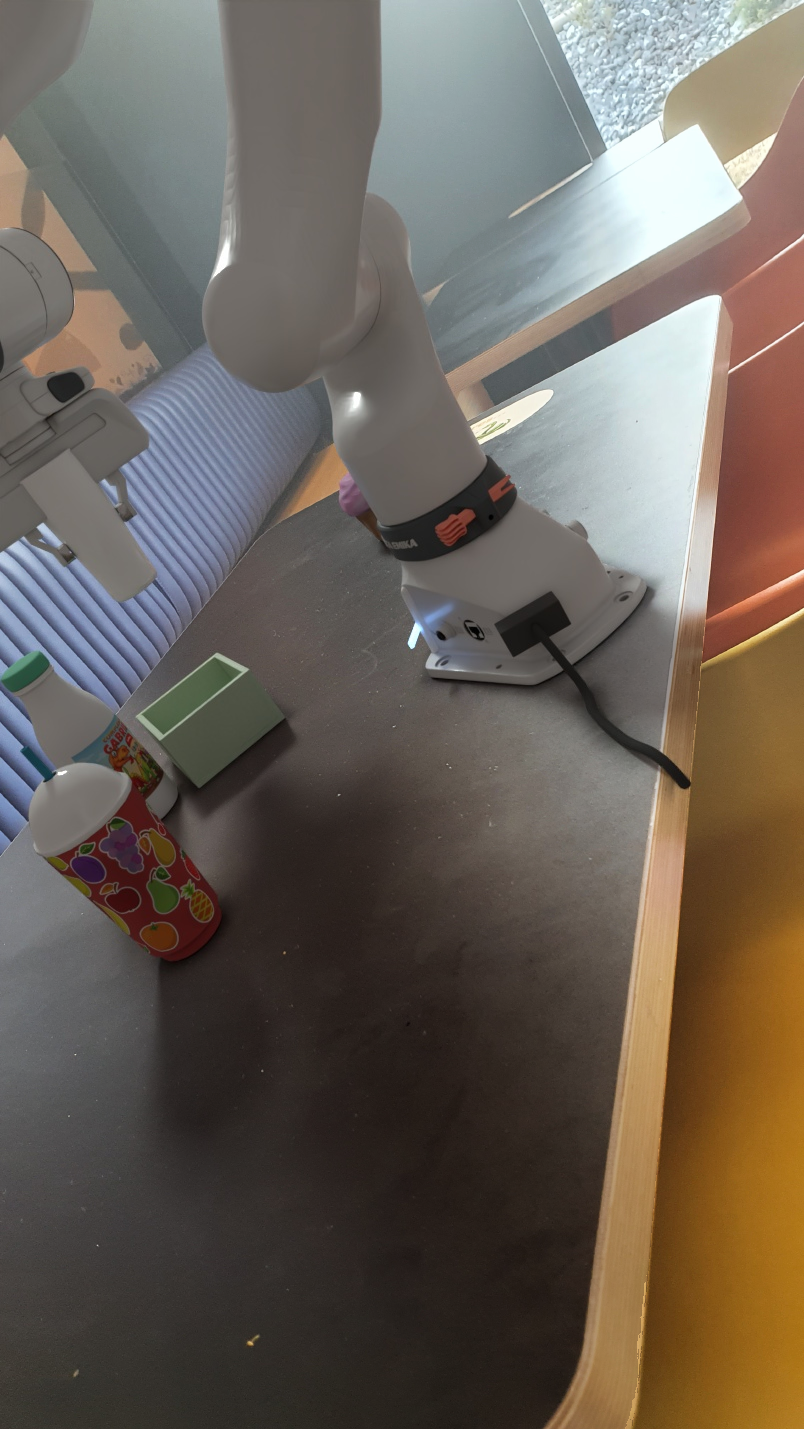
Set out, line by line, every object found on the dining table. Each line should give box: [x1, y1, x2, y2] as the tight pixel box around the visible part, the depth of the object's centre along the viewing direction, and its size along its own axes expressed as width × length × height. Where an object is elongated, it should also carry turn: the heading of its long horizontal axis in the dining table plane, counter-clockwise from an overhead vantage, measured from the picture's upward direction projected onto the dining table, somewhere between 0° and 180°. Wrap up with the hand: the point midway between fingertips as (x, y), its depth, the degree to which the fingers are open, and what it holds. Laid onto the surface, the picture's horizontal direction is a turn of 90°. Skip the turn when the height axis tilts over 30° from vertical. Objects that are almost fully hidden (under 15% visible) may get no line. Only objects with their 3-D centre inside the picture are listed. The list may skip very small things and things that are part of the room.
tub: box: [135, 652, 286, 789], centre depth 103 cm, size 11×11×7 cm
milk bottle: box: [0, 650, 179, 821], centre depth 95 cm, size 8×8×20 cm
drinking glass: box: [20, 448, 158, 603], centre depth 97 cm, size 7×7×15 cm
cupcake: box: [338, 472, 384, 542], centre depth 129 cm, size 9×9×10 cm
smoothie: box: [19, 745, 222, 962], centre depth 72 cm, size 8×8×20 cm
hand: (101, 540), depth 97 cm, fingers closed on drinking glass, 6 cm apart
